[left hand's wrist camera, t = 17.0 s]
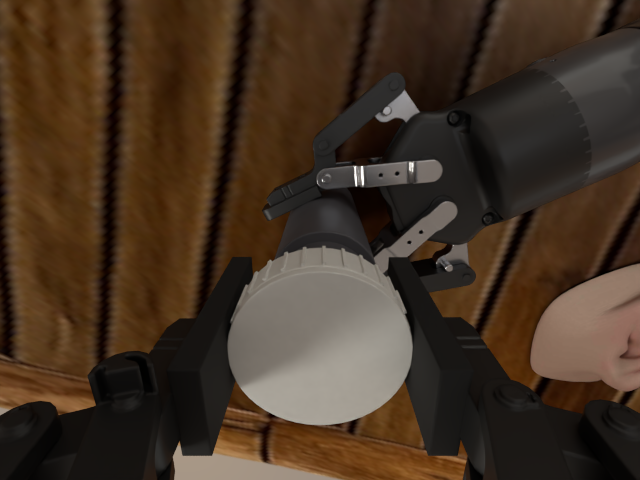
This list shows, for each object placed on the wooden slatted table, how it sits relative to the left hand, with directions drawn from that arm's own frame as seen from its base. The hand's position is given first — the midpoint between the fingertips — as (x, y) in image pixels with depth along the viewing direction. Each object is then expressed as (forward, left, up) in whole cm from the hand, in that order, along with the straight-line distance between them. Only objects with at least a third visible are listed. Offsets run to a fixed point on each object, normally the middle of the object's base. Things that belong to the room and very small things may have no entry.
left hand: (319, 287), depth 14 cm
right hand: (+2, -2, -8) cm, 9 cm away
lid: (0, 0, +4) cm, 4 cm away
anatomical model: (+7, +27, -15) cm, 32 cm away
